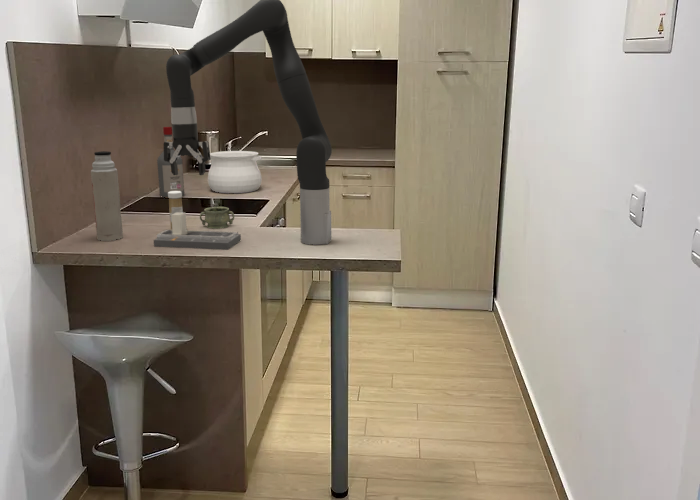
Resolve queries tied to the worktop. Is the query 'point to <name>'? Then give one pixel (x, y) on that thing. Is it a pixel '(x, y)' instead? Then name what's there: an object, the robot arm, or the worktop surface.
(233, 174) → the pot
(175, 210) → the sprinkles bottle
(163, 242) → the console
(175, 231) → the block
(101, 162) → the thermos bottle
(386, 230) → the worktop surface
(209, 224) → the vessel
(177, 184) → the liquor
